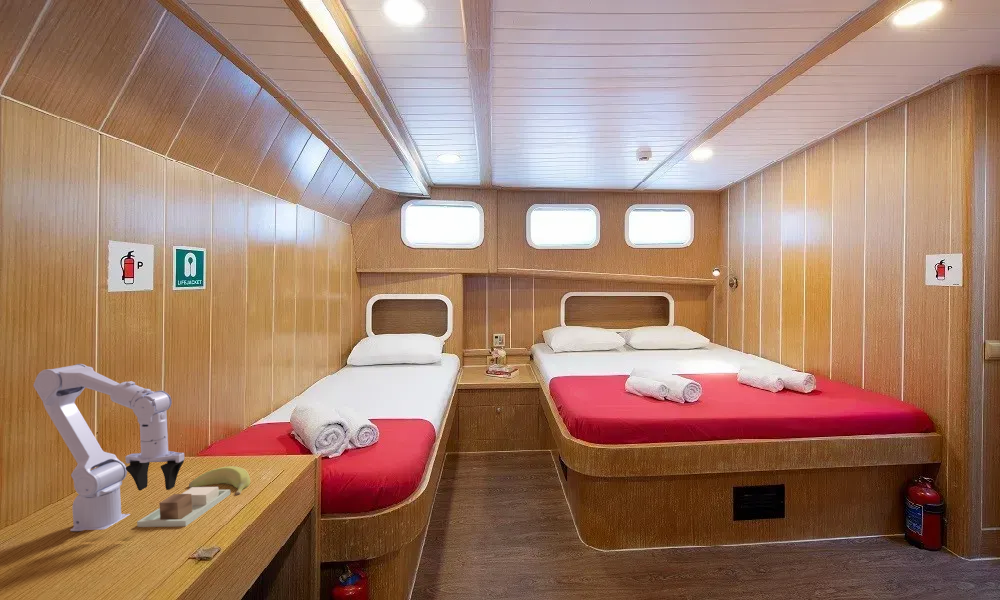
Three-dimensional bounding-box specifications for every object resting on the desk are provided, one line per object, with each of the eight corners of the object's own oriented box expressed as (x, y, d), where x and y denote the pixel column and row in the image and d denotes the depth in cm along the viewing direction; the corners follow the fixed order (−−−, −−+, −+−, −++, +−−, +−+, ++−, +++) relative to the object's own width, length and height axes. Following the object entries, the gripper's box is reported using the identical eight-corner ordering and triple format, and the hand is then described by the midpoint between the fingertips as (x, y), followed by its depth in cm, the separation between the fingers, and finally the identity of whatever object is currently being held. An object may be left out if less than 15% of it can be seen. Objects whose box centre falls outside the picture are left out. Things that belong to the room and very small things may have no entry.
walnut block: (160, 521, 118) (159, 502, 118) (175, 511, 123) (174, 494, 123) (178, 521, 118) (177, 502, 118) (192, 511, 123) (191, 493, 123)
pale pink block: (179, 505, 126) (178, 495, 126) (192, 497, 132) (192, 487, 132) (206, 505, 126) (206, 494, 126) (218, 496, 131) (218, 486, 131)
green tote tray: (137, 529, 115) (137, 521, 115) (188, 496, 133) (188, 490, 133) (185, 528, 115) (185, 520, 115) (230, 496, 133) (230, 489, 133)
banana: (231, 454, 148) (255, 476, 135) (236, 468, 150) (260, 491, 137) (185, 478, 139) (206, 504, 126) (190, 492, 140) (212, 519, 127)
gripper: (114, 443, 114) (116, 495, 114) (169, 442, 114) (171, 495, 114) (137, 434, 121) (139, 483, 121) (189, 433, 121) (191, 483, 121)
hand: (156, 488), depth 118 cm, fingers open, 7 cm apart
